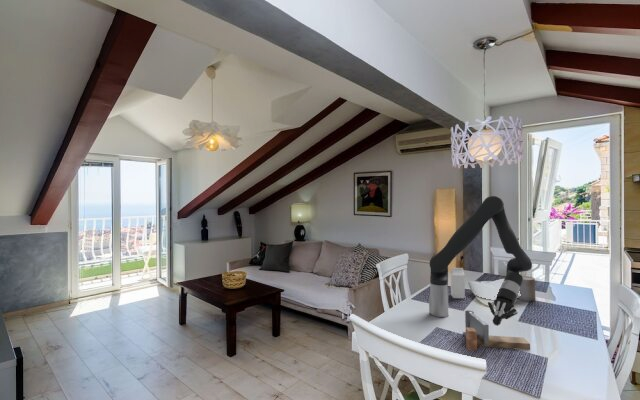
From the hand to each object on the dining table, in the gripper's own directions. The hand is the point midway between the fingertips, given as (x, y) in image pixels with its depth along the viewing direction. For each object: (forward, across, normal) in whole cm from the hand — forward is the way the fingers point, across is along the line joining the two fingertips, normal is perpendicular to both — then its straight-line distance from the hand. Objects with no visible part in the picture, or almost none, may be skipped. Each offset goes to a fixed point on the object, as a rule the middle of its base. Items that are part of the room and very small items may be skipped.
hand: (495, 324), depth 141 cm
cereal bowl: (-42, -36, +53) cm, 77 cm away
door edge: (+7, 0, +4) cm, 8 cm away
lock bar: (+10, -5, 0) cm, 11 cm away
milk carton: (-26, -47, +38) cm, 66 cm away
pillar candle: (-47, -18, +58) cm, 77 cm away
